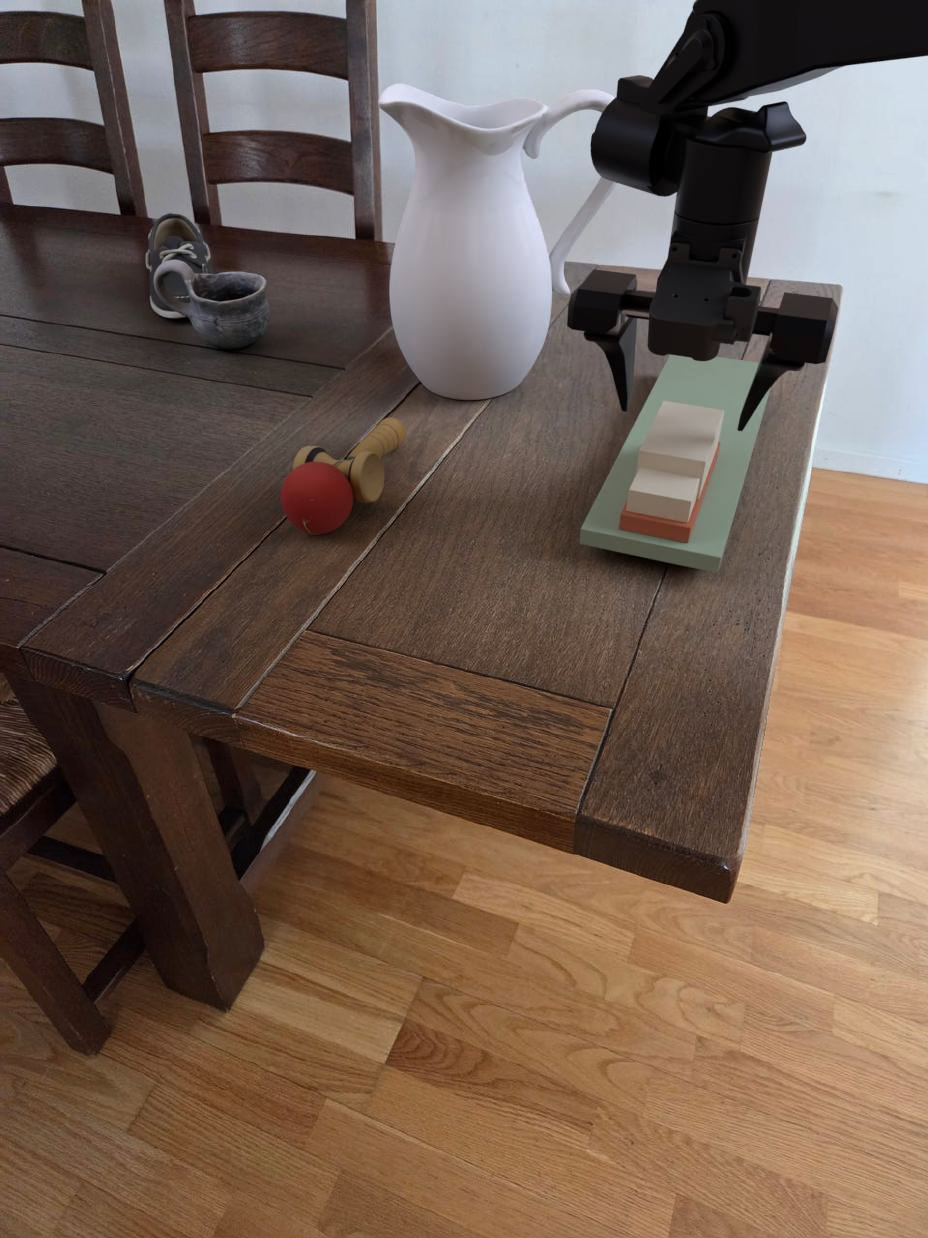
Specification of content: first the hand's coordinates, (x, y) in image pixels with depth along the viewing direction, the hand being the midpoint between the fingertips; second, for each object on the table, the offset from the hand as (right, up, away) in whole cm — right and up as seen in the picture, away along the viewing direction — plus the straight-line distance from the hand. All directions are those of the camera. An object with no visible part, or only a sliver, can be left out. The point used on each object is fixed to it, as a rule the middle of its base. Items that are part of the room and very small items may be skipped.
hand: (681, 419), depth 69 cm
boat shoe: (-55, +29, +48) cm, 79 cm away
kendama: (-28, -4, +10) cm, 30 cm away
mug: (-47, +17, +35) cm, 61 cm away
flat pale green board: (+4, -1, +12) cm, 13 cm away
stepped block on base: (0, -5, +3) cm, 6 cm away
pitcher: (-13, +11, +27) cm, 32 cm away
